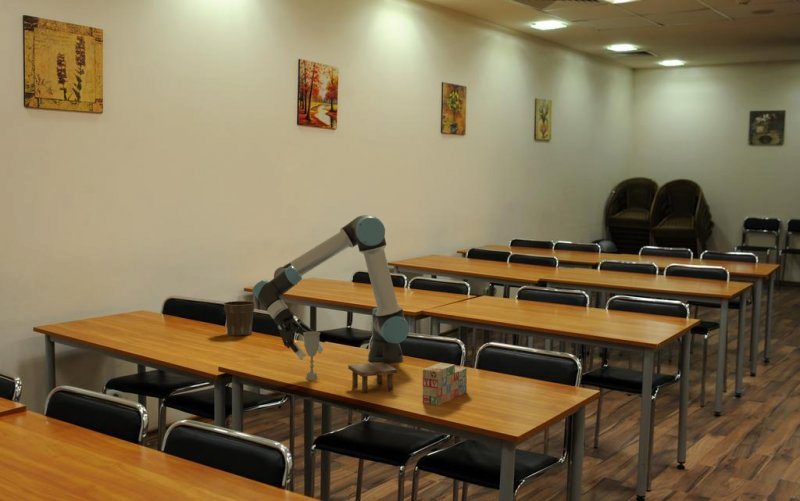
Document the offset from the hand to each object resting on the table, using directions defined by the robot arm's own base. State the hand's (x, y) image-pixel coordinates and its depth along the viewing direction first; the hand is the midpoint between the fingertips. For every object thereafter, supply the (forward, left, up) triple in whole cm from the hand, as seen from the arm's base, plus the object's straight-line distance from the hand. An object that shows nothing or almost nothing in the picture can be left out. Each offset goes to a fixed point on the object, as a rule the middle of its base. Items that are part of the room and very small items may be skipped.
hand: (312, 354), depth 314 cm
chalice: (0, -1, -10) cm, 10 cm away
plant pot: (+5, -106, -10) cm, 106 cm away
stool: (-16, +23, -10) cm, 30 cm away
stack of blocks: (-35, +46, -10) cm, 58 cm away
